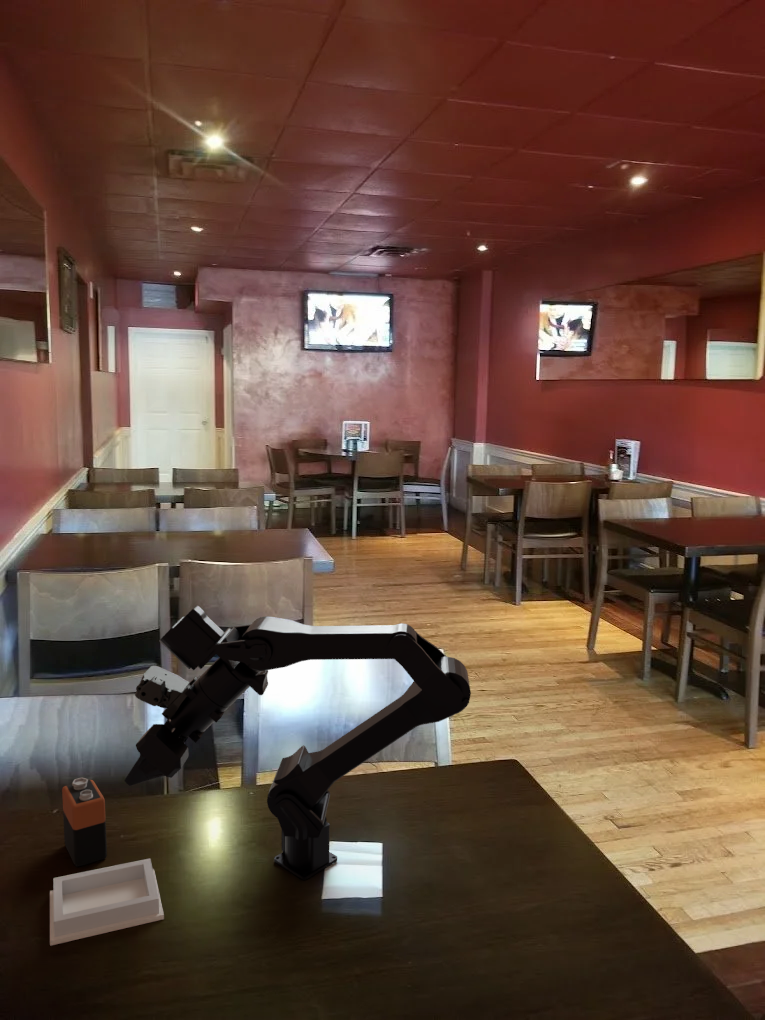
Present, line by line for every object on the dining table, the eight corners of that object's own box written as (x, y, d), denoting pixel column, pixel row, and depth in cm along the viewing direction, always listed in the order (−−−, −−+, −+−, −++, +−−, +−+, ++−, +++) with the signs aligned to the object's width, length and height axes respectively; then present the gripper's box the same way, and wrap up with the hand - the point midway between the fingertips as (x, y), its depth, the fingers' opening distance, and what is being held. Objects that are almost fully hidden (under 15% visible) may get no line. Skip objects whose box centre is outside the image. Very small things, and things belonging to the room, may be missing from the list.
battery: (95, 836, 115) (92, 772, 114) (108, 859, 110) (105, 792, 108) (63, 845, 113) (60, 779, 111) (75, 869, 107) (72, 801, 106)
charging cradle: (154, 873, 107) (153, 855, 106) (163, 919, 98) (163, 899, 97) (50, 895, 102) (49, 876, 101) (50, 945, 93) (49, 925, 92)
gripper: (191, 629, 115) (121, 700, 118) (148, 675, 97) (66, 758, 99) (246, 681, 116) (175, 750, 118) (214, 736, 98) (131, 817, 100)
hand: (139, 766), depth 109 cm, fingers open, 9 cm apart
